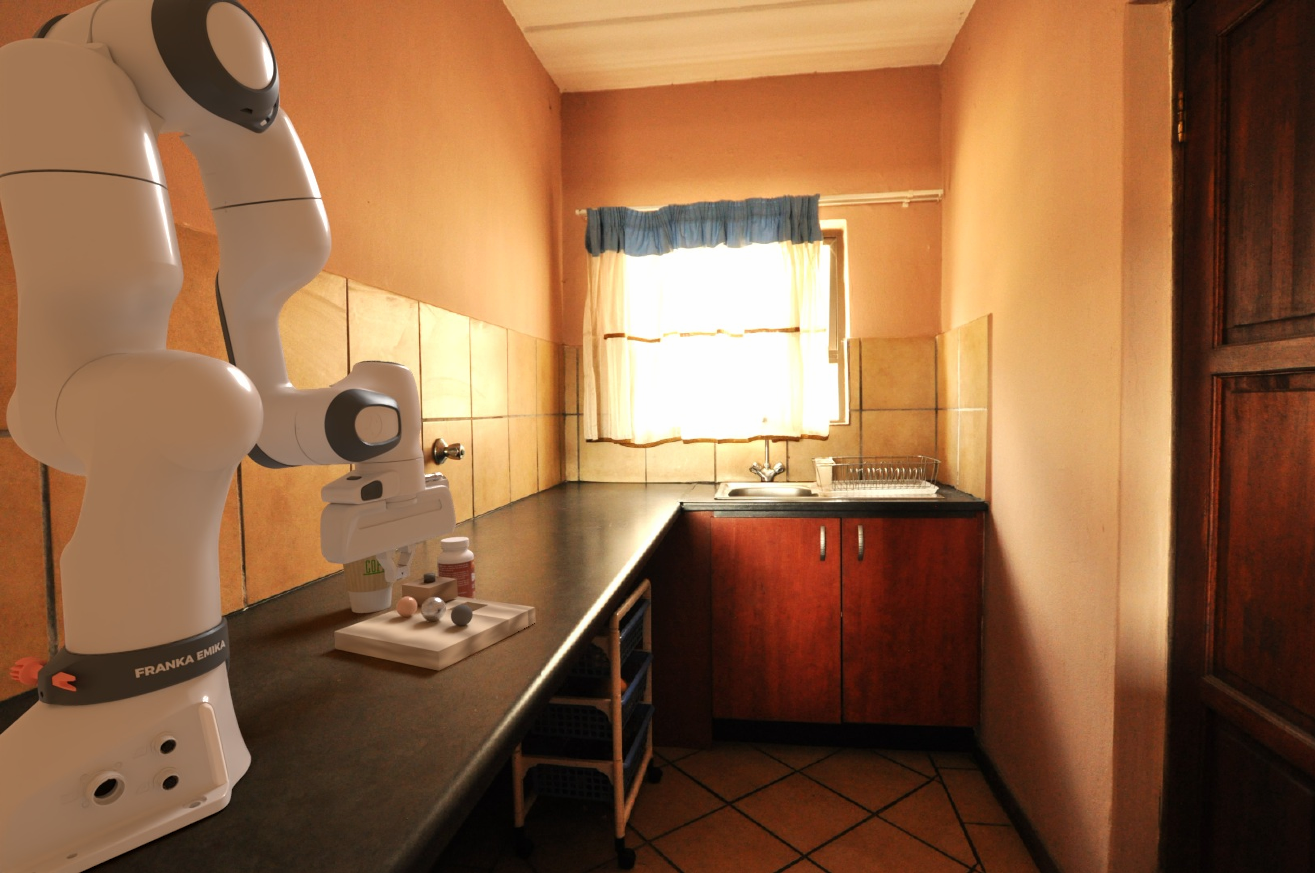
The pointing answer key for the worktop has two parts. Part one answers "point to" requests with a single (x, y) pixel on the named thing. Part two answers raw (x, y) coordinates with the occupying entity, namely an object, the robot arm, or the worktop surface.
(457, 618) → the black rubber ball
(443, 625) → the board
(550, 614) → the worktop surface
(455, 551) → the pill bottle
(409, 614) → the terracotta ball
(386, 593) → the coffee cup
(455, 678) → the worktop surface
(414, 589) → the cover
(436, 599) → the steel ball
